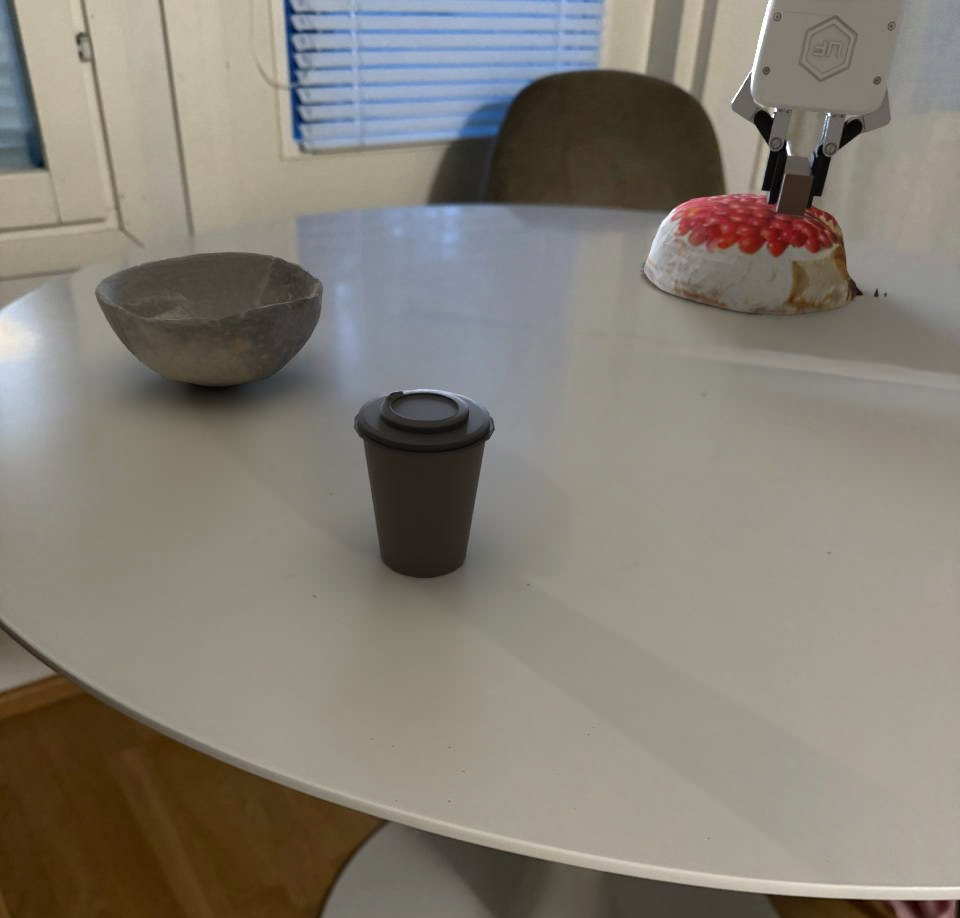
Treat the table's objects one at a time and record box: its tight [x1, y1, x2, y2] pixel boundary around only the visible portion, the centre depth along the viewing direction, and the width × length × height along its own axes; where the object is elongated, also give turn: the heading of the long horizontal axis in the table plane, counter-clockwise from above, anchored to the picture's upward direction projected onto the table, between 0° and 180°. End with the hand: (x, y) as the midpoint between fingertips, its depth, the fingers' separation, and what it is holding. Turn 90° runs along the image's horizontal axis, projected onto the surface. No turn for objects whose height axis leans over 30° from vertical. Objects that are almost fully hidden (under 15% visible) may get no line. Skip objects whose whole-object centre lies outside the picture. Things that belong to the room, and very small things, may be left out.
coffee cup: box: [353, 388, 496, 578], centre depth 57 cm, size 8×8×10 cm
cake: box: [643, 192, 888, 316], centre depth 102 cm, size 23×24×10 cm
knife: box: [775, 140, 814, 216], centre depth 84 cm, size 18×2×3 cm, turn 168°
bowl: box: [94, 251, 324, 388], centre depth 79 cm, size 18×18×8 cm
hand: (788, 201), depth 81 cm, fingers closed on knife, 2 cm apart
